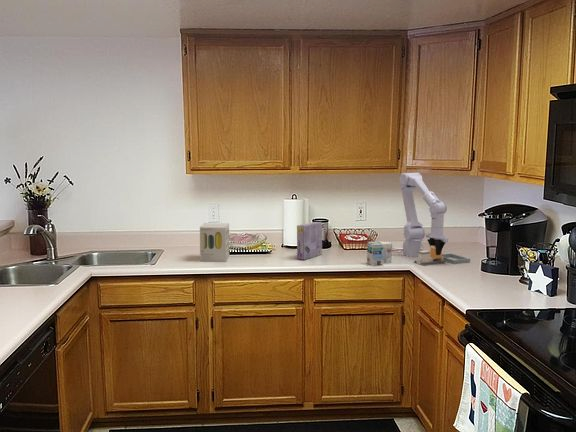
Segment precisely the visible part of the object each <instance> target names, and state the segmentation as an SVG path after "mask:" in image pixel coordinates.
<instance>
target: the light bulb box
mask: <svg viewBox="0 0 576 432" xmlns="http://www.w3.org/2000/svg"><path fill="white" fill-rule="evenodd" d="M366 249H367V252H366V253H367V254H366V263H367V264H368V265H370V266H372V267H374V266H375V267H377V266H383V265H384V264H392V258H393V257H392V254H393V253H392V252H393V243H391V242H389V241H388V240H386V241H367V248H366Z"/></svg>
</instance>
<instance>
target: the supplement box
mask: <svg viewBox="0 0 576 432" xmlns="http://www.w3.org/2000/svg"><path fill="white" fill-rule="evenodd" d="M199 256H200V257H199V259H200V262H211V263H212V262H219V263H221V262H224V263H225V262H227V261H228V259H229V258H230V223H227V222H226V223H224V222H223V223H221V222H219V223H217V222H216V223H215V222H214V223H213V222H212V223H211V222H208V223H207V222H204V223H203V224H202V225H201V226H199Z"/></svg>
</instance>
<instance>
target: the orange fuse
mask: <svg viewBox="0 0 576 432" xmlns="http://www.w3.org/2000/svg"><path fill="white" fill-rule="evenodd" d="M429 247H430V246H429ZM442 251H443V250H442ZM442 251H441V254H440V255H436V246H435V245H431V247H430V257H431V258H433V259H435V258H442V254H443V252H442Z"/></svg>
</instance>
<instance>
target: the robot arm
mask: <svg viewBox="0 0 576 432" xmlns="http://www.w3.org/2000/svg"><path fill="white" fill-rule="evenodd" d="M398 180H399V184H400V191H401V196H402V199H403V200H402V201H403V207H404V212H405V217H406V224H405V225H404V226H403V237H404V241H403V243H402V256H406V257H409V258H410V257H411V258H418V251H422V241H423V240H424V238H427V242H428V244H429V247H431V245H435V246H436V255H440V254H441V251H443V248H444V246H445V244H446V243H448V242H449V238H448V237H446V236H445V235H444V219H445V217H444V216H445V214H446V212H447V209H448V206H447V204H446V202H445V201H441V200H440V199H439V198H438V196H437V195H436V194H435V192H434V191H431V190H429V188H428V187H427V185H426V184H425V182H424V181H423V176H422V174H421V173H420V172H402V173H401V174H400V177H399V178H398ZM416 189H417V190H418V191H419V192H420V193H421V195H422V196H423V201H424V202H425V203H426V204H427V205H428V207H429V208H428V209H429V212H430V217H431V221H430V223H431V224H430V233H429V232H428V233H426V231H425V228H424V226H423V224H422V223H421V222H420V221H418V219H419V218H418V215H417V214H418V213H417V211H416V210H417V209H416V204H415V200H414V199H415V198H414V195H413V191H415V190H416Z"/></svg>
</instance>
